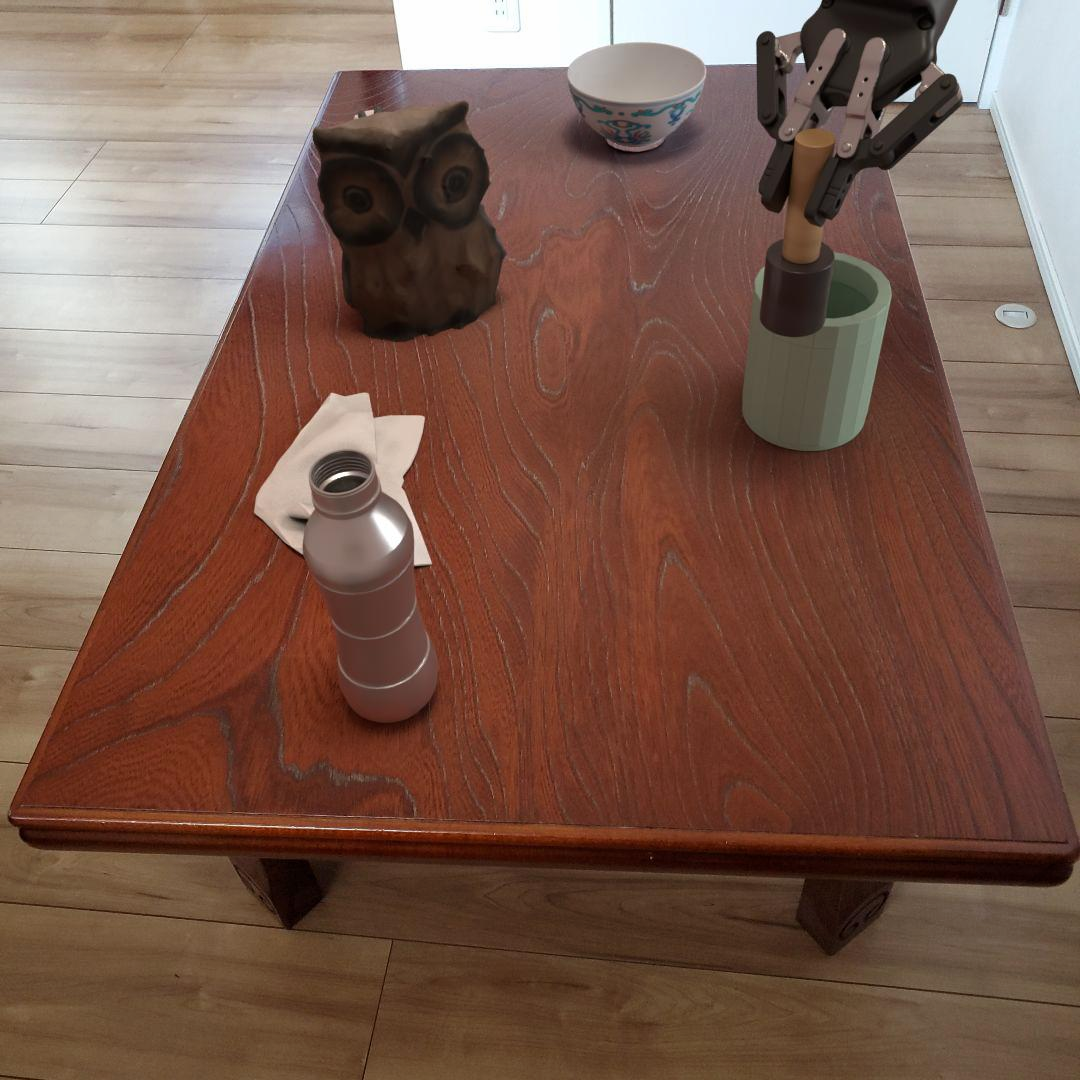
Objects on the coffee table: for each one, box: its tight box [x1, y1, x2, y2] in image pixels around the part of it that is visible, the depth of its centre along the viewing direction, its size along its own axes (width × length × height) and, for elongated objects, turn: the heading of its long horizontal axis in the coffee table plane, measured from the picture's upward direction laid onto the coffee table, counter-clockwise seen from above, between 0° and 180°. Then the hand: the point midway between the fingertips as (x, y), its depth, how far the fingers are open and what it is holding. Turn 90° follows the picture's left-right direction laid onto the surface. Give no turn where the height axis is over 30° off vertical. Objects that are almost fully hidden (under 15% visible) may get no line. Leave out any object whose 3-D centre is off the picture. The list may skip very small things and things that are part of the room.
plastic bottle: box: [302, 449, 439, 724], centre depth 67 cm, size 6×7×20 cm
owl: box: [311, 100, 508, 342], centre depth 98 cm, size 13×13×20 cm
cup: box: [741, 251, 893, 452], centre depth 88 cm, size 10×10×12 cm
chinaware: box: [566, 41, 707, 147], centre depth 123 cm, size 15×15×8 cm
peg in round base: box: [760, 128, 837, 337], centre depth 72 cm, size 4×4×13 cm
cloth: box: [253, 392, 433, 567], centre depth 87 cm, size 26×14×2 cm, turn 4°
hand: (791, 213), depth 69 cm, fingers closed on peg in round base, 2 cm apart
